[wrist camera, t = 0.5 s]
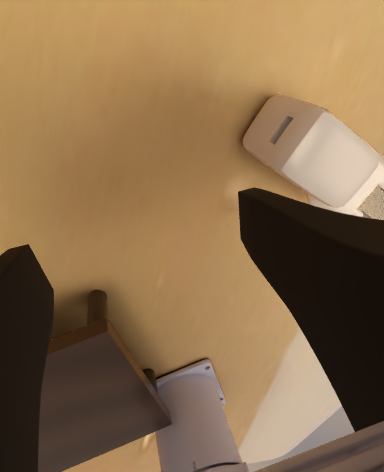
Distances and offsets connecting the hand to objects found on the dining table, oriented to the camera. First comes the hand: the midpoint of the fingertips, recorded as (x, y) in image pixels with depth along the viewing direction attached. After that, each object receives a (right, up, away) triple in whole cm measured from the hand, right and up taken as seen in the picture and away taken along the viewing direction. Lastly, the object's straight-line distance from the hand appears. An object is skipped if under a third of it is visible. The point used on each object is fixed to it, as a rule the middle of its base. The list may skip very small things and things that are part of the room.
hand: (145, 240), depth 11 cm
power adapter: (+10, +6, +12) cm, 16 cm away
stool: (-10, -11, +16) cm, 22 cm away
